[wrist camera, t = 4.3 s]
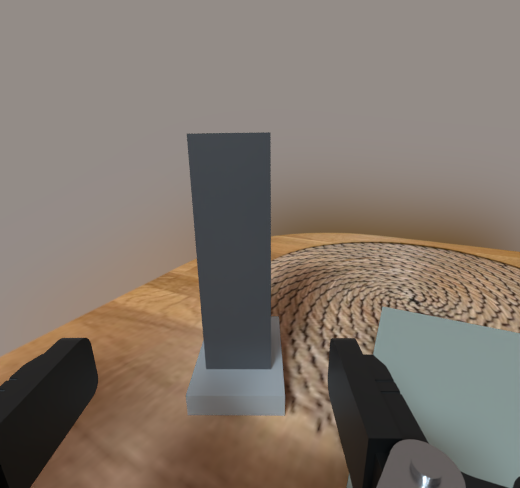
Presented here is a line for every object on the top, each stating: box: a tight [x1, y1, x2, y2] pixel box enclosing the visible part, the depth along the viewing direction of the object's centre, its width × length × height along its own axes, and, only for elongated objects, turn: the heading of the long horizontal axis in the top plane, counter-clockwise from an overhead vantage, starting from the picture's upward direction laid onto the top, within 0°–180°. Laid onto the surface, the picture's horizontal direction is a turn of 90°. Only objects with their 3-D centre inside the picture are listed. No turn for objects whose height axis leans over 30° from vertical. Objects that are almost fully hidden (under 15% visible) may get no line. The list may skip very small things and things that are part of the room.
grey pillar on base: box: [186, 133, 285, 416], centre depth 20 cm, size 9×6×16 cm, turn 179°
